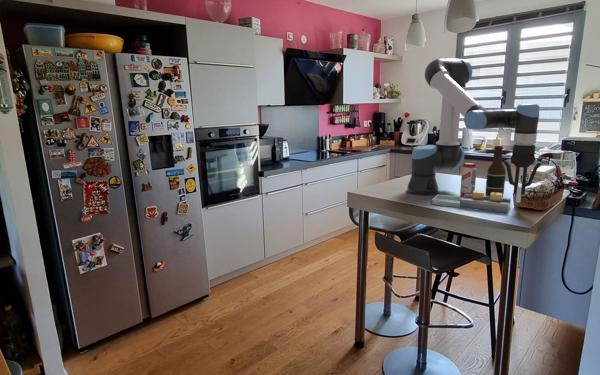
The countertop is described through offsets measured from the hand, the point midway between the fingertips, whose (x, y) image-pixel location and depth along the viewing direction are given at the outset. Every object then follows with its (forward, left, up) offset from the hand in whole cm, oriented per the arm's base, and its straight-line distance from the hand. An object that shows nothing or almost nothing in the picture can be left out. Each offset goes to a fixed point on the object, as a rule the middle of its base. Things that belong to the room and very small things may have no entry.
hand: (518, 201), depth 147 cm
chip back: (-15, 0, -1) cm, 15 cm away
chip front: (-8, 0, -1) cm, 8 cm away
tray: (-27, 0, -4) cm, 27 cm away
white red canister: (-22, +17, -4) cm, 28 cm away
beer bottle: (-11, +22, -4) cm, 25 cm away
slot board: (-12, 0, -4) cm, 13 cm away
